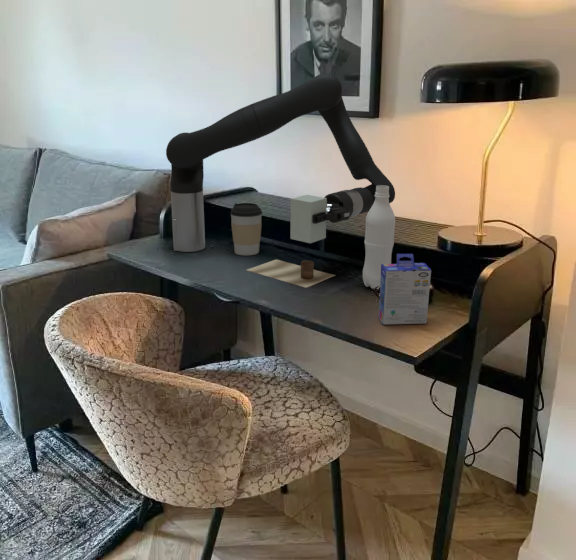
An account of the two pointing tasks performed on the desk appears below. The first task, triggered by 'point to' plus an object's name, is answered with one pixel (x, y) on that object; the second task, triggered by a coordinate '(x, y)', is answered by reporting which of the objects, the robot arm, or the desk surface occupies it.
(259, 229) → the coffee cup
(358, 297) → the desk surface
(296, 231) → the pale upright block
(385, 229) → the water bottle
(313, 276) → the oak board
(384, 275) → the ink cartridge box
